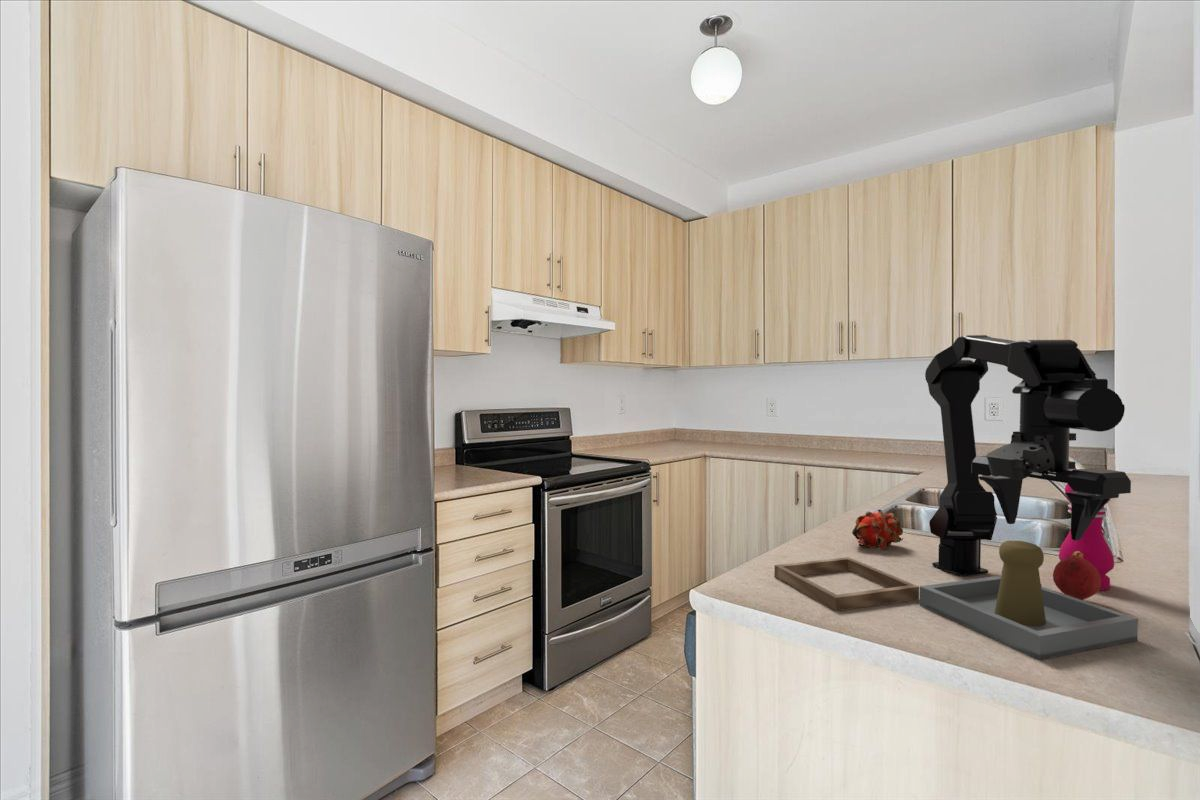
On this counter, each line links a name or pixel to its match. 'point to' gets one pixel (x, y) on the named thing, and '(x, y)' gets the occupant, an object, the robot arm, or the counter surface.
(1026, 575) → the olive shaker
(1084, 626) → the gray square tray
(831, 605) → the frame
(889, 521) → the dragon fruit
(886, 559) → the counter surface
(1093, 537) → the pepper mill
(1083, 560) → the pomegranate
